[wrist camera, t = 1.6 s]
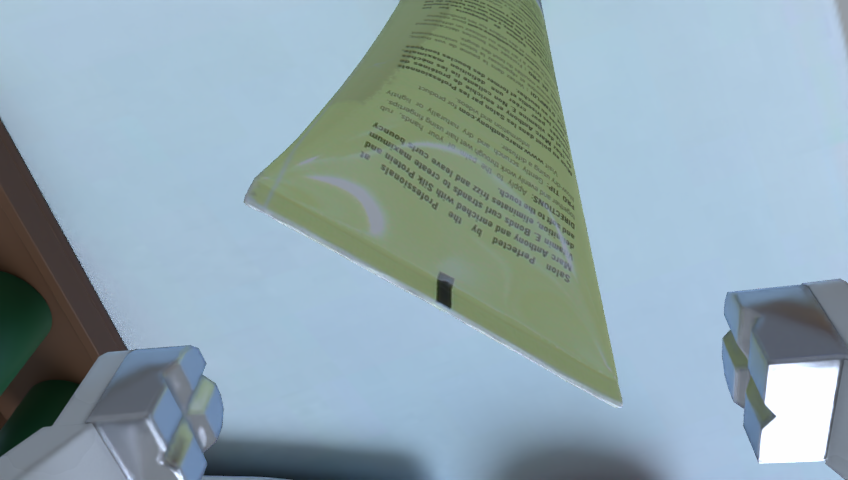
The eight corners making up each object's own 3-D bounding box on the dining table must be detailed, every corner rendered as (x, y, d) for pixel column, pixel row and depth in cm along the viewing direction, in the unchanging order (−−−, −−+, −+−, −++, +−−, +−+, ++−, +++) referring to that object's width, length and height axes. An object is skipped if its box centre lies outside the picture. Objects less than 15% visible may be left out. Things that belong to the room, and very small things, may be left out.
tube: (407, 67, 30) (317, 430, 13) (384, -61, 27) (237, 200, 11) (543, 49, 29) (624, 412, 13) (534, -85, 26) (622, 159, 10)
